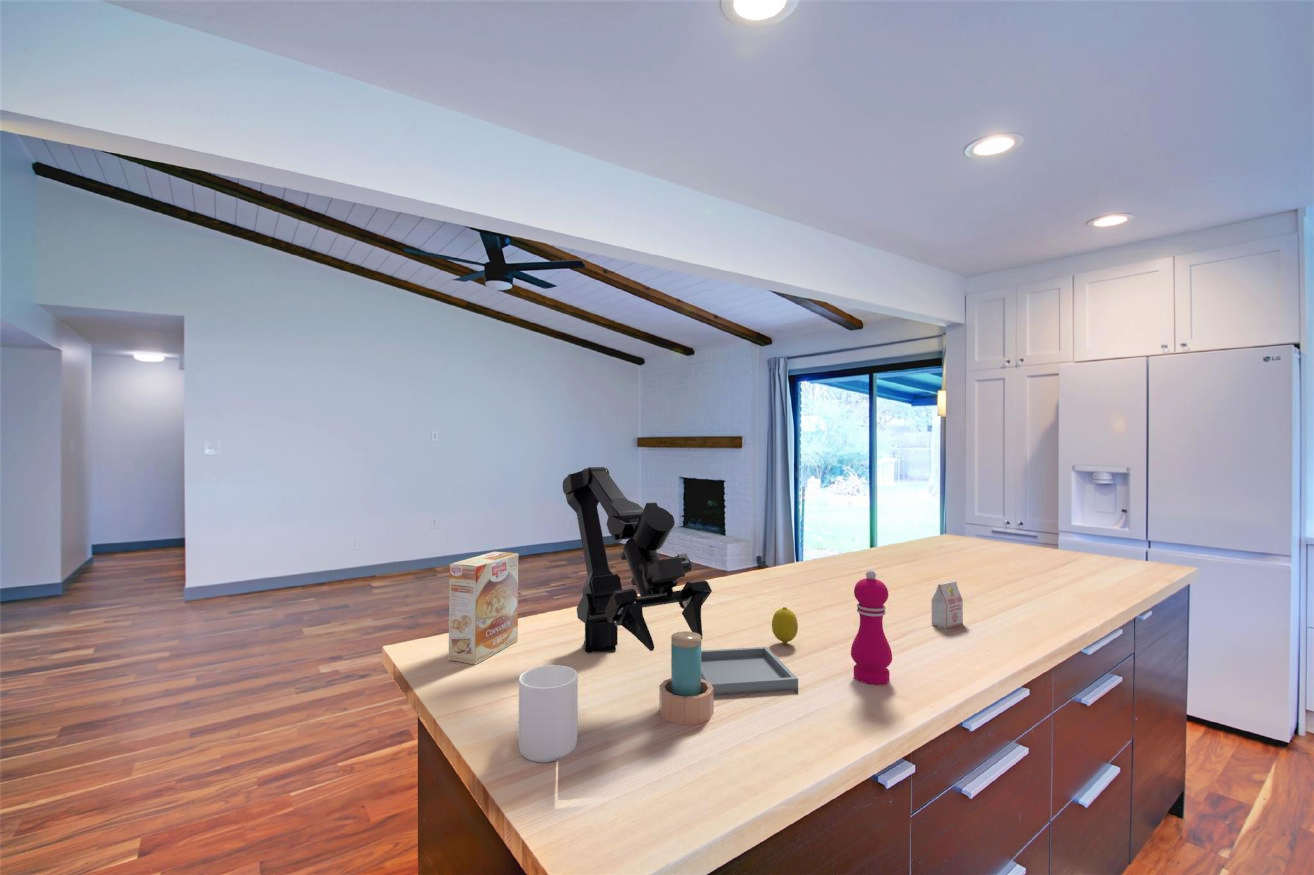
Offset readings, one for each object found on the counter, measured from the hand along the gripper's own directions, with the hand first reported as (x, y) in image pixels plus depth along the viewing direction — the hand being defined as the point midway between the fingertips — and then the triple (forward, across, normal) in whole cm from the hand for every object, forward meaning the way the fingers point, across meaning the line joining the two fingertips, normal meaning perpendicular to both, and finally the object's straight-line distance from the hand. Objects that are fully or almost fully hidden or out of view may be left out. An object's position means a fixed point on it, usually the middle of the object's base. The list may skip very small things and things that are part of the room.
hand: (677, 644), depth 94 cm
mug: (+7, -23, +8) cm, 25 cm away
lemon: (-3, +36, +18) cm, 41 cm away
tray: (+4, +17, +11) cm, 20 cm away
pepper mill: (+12, +38, +3) cm, 40 cm away
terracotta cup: (+9, 0, +5) cm, 11 cm away
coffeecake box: (-23, -22, +37) cm, 49 cm away
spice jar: (+9, 0, +5) cm, 10 cm away
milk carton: (+3, +80, +12) cm, 81 cm away
